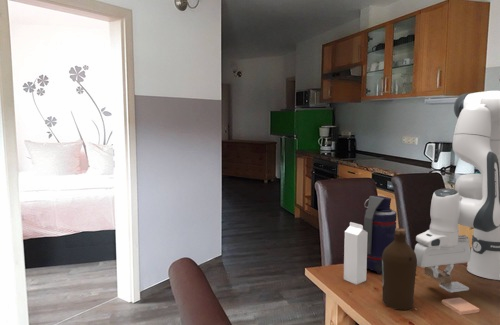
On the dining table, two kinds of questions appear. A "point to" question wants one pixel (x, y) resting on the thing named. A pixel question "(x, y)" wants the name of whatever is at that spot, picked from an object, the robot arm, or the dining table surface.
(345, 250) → the milk
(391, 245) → the olive oil
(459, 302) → the tile
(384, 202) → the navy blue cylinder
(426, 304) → the dining table surface
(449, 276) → the turner
